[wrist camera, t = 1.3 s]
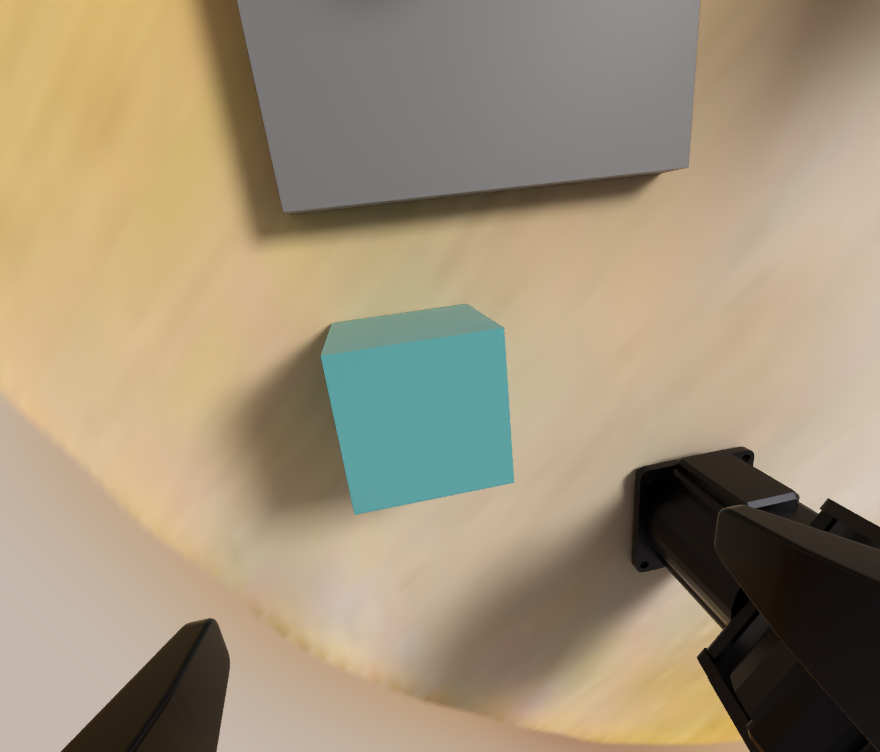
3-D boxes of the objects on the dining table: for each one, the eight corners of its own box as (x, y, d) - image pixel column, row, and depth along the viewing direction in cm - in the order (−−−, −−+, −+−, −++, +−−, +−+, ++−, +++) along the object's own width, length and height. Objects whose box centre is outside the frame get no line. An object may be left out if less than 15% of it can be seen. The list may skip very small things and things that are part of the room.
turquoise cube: (477, 424, 20) (514, 482, 15) (356, 446, 19) (354, 514, 14) (466, 303, 18) (503, 327, 13) (331, 323, 17) (320, 355, 13)
